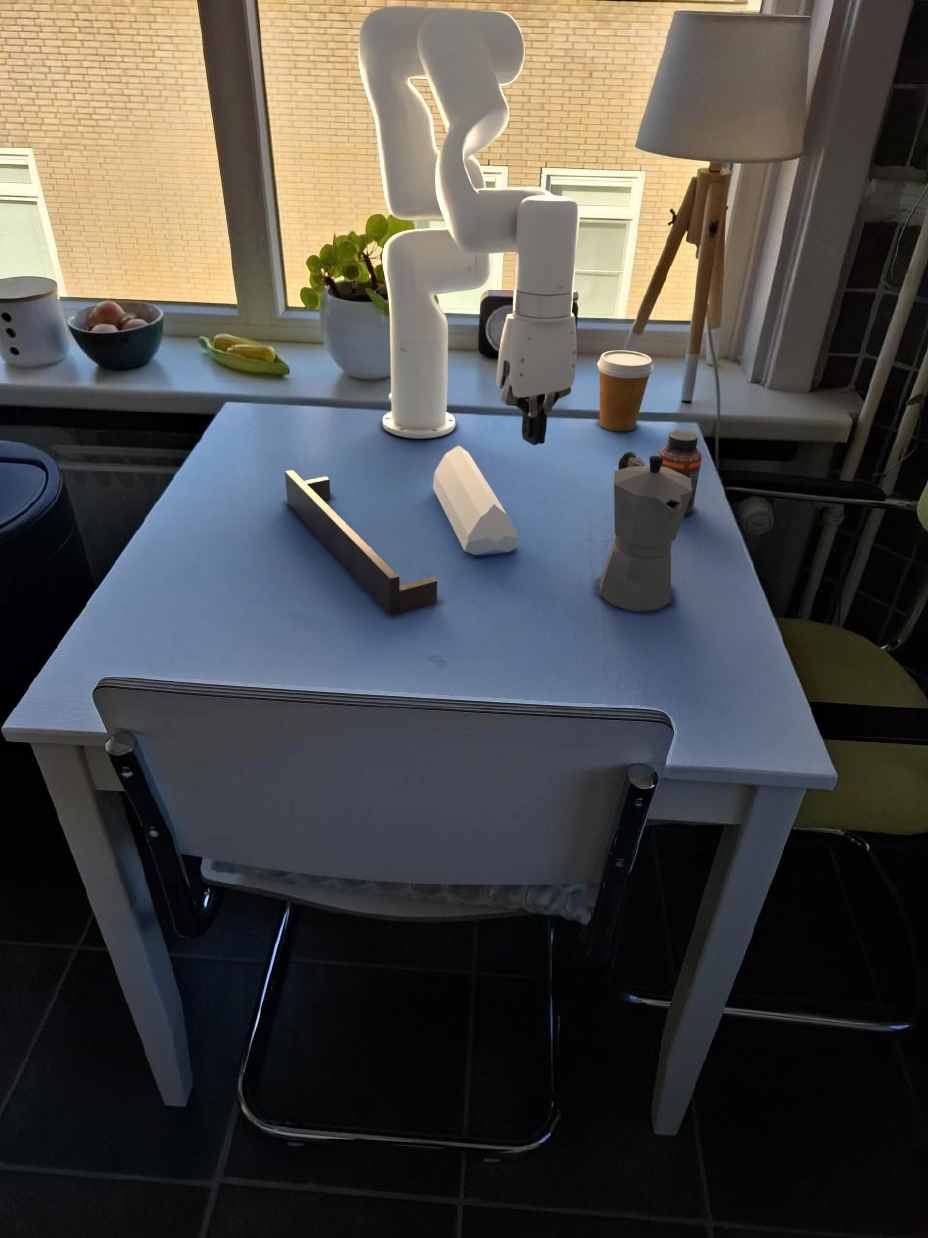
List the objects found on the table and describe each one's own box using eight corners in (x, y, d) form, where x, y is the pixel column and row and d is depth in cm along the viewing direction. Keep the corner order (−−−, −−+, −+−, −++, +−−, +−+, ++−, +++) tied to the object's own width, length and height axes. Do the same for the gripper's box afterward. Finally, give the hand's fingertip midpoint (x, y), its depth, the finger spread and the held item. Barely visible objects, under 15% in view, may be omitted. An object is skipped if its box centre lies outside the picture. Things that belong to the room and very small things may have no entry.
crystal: (539, 530, 113) (490, 457, 132) (494, 509, 109) (450, 437, 129) (508, 576, 115) (465, 498, 135) (463, 557, 112) (425, 479, 131)
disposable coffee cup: (592, 413, 160) (600, 347, 154) (645, 418, 159) (655, 352, 152) (588, 431, 153) (596, 363, 146) (643, 437, 151) (653, 368, 145)
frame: (287, 503, 126) (284, 471, 123) (327, 495, 128) (325, 463, 126) (390, 615, 102) (390, 578, 99) (437, 602, 105) (437, 566, 102)
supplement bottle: (694, 503, 130) (708, 430, 124) (689, 520, 125) (703, 445, 119) (654, 496, 131) (666, 424, 125) (648, 512, 127) (659, 438, 121)
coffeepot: (692, 617, 104) (722, 477, 94) (618, 625, 102) (640, 483, 92) (642, 555, 116) (663, 425, 106) (575, 561, 114) (590, 429, 104)
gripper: (572, 292, 117) (561, 424, 127) (477, 303, 111) (473, 441, 121) (607, 304, 112) (592, 441, 122) (509, 316, 105) (502, 460, 115)
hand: (533, 440), depth 121 cm, fingers closed
